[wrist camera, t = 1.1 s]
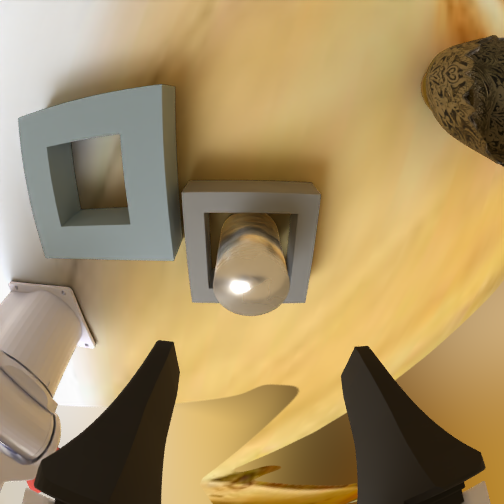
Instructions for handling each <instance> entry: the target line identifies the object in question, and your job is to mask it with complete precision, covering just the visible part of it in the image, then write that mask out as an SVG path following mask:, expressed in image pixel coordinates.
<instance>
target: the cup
mask: <svg viewBox="0 0 504 504" xmlns="http://www.w3.org/2000/svg"><path fill="white" fill-rule="evenodd" d="M421 93H422V97H423V99H424V102H425V103H426V105H427V106H428V107H429V109H430V110H431V111H432V112H433V114H434V116H435V118H436V119H437V121H438V122H439V123H440V125H441V126H442V127H443V128H444V129H445V130H446V131H447V132H448V133H449V134H450V135H452V136H453V137H454V138H456V139H457V140H459V141H460V142H462V143H463V144H465V145H466V146H468V147H470V148H472V149H473V150H475V151H477V152H478V153H480V154H482V155H484V156H485V157H487V158H489V159H490V160H492V161H494V162H495V163H497V164H500V165H502V166H504V38H498V37H497V36H495V35H492V36H489V37H486V38H482V39H478V40H473V41H470V42H466V43H462V44H459V45H455V46H453V47H450V48H448V49H446V50H444V51H442V52H441V53H439V54H438V55H437V56H436V57H435V58H434V60H433V61H432V62H431V64H430V66H429V69H428V72H427V73H426V74H425V75H424V77H423V79H422V82H421Z"/></svg>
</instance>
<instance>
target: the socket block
mask: <svg viewBox="0 0 504 504" xmlns="http://www.w3.org/2000/svg"><path fill="white" fill-rule="evenodd" d="M18 122H19V134H20V144H21V152H22V160H23V166H24V173H25V178H26V184H27V189H28V194H29V199H30V203H31V207H32V212H33V216H34V220H35V223H36V227H37V231H38V234H39V238H40V241H41V244H42V248H43V251H44V254H45V257H46V258H64V259H106V260H158V261H174V259H175V257H176V254H177V252H178V249H179V247H180V244H181V241H182V239H183V237H182V226H181V214H180V202H179V187H178V171H177V150H176V118H175V87H174V86H169V85H163V84H160V85H152V86H144V87H137V88H131V89H125V90H119V91H114V92H108V93H103V94H99V95H94V96H90V97H86V98H81V99H77V100H74V101H70V102H66V103H62V104H59V105H56V106H52V107H49V108H46V109H43V110H40V111H37V112H34V113H31V114H28V115H25V116H22V117H20V118H18ZM116 134H120V139H121V152H122V162H123V172H124V181H125V189H126V197H127V204H128V207H119V208H99V209H81V207H80V202H79V196H78V190H77V185H76V178H75V172H74V164H73V156H72V148H71V142H73V141H79V140H84V139H90V138H96V137H102V136H109V135H116Z"/></svg>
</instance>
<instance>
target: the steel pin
mask: <svg viewBox="0 0 504 504" xmlns="http://www.w3.org/2000/svg"><path fill="white" fill-rule="evenodd" d="M289 288H290V282H289V276H288V272H287V268H286V263H285V259H284V255H283V250H282V246H281V242H280V238H279V234H278V229H277V226H276V224H275V222H274V221H273V219H272V218H271V217H270V216H269V215H267V214H266V213H233V214H232V215H231V216H229V217H228V218H227V219H226V221H225V222H224V224H223V226H222V230H221V235H220V242H219V248H218V254H217V261H216V267H215V274H214V281H213V290H214V294H215V296H216V298H217V300H218V301H219V303H220V304H221V305H222V306H223V307H225V308H226V309H228V310H229V311H231V312H233V313H236V314H240V315H245V316H256V315H262V314H265V313H268V312H270V311H272V310H274V309H276V308H277V307H278V306H280V305H281V304H282V303H283V301H284V300H285V299H286V297H287V295H288V292H289Z"/></svg>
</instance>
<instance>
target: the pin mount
mask: <svg viewBox="0 0 504 504" xmlns="http://www.w3.org/2000/svg"><path fill="white" fill-rule="evenodd" d="M181 193H182V207H183V220H184V232H185V243H186V253H187V262H188V271H189V280H190V288H191V296H192V302H199V303H219V301H218V300H217V298H216V296H215V294H214V290H213V281H214V274H215V268H212V261H211V242H210V220H209V213H286V214H291V215H290V226H289V237H288V247H287V257H286V268H287V272H288V276H289V282H290V288H289V292H288V295H287V297H286V299H285V300H284V301H283V303H305V301H306V295H307V289H308V283H309V277H310V271H311V265H312V258H313V252H314V245H315V238H316V231H317V223H318V216H319V208H320V199H321V194H320V193H319V191H318V190H317V189H316V187H315V186H314V185H313V184H312V183H310V182H290V181H257V180H194V181H189V182H188V183H187V185H186V186H185V188H184V189H183V191H182V192H181Z"/></svg>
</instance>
